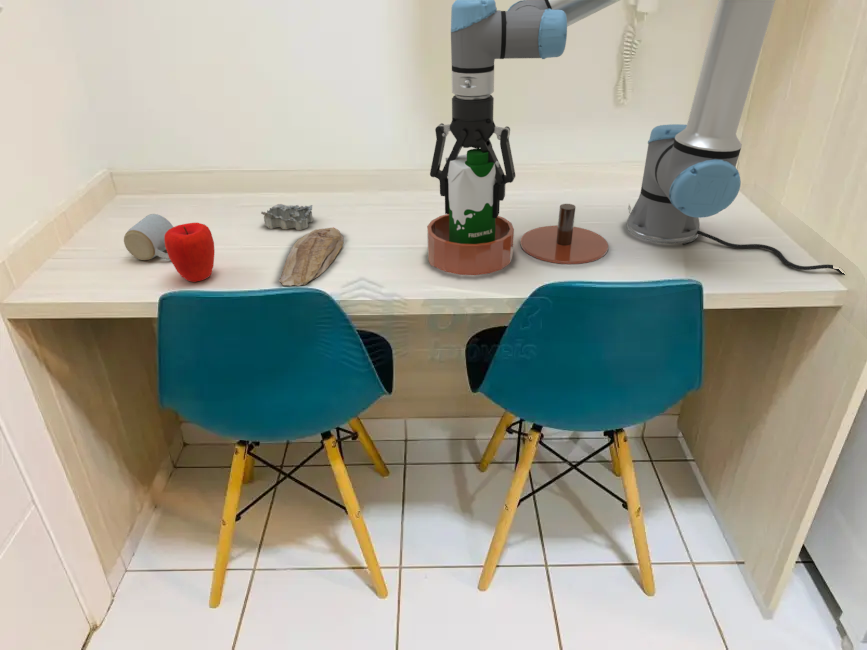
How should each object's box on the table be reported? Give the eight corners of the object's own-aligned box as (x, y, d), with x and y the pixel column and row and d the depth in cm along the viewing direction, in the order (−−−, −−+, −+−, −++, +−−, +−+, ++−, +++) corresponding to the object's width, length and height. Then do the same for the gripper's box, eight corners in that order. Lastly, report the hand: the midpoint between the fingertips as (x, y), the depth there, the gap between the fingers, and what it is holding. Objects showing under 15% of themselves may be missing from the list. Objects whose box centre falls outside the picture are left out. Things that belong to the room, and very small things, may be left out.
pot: (518, 245, 135) (520, 215, 131) (502, 282, 121) (504, 250, 117) (441, 236, 139) (441, 207, 136) (417, 271, 125) (416, 240, 121)
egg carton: (261, 229, 145) (258, 212, 142) (274, 216, 151) (271, 200, 149) (305, 231, 143) (302, 214, 140) (316, 218, 149) (314, 202, 147)
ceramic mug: (125, 260, 131) (116, 226, 127) (149, 244, 138) (141, 211, 134) (171, 266, 129) (162, 231, 125) (193, 249, 136) (185, 216, 132)
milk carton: (463, 259, 123) (462, 158, 113) (442, 242, 130) (440, 146, 120) (501, 250, 127) (504, 151, 116) (479, 234, 134) (480, 139, 123)
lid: (609, 235, 139) (615, 195, 134) (604, 271, 124) (610, 228, 119) (527, 226, 143) (530, 187, 138) (513, 261, 128) (515, 218, 124)
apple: (199, 263, 130) (188, 214, 124) (230, 272, 126) (219, 222, 120) (164, 281, 123) (150, 229, 117) (195, 291, 119) (182, 239, 114)
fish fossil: (326, 286, 120) (325, 280, 120) (274, 289, 121) (273, 284, 120) (345, 229, 142) (344, 224, 141) (300, 233, 143) (299, 228, 142)
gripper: (408, 97, 113) (414, 215, 124) (529, 102, 107) (523, 225, 119) (421, 88, 119) (425, 202, 131) (536, 92, 113) (529, 210, 125)
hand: (472, 213), depth 125 cm, fingers closed on milk carton, 9 cm apart
